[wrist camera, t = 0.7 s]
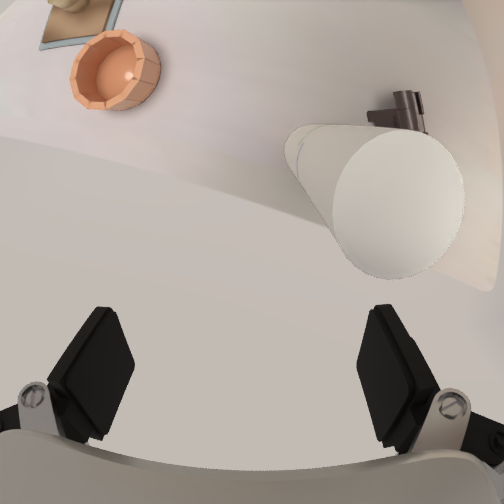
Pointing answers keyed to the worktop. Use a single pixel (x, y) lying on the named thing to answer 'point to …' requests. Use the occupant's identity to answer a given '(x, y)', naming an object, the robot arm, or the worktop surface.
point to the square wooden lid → (77, 19)
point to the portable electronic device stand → (401, 113)
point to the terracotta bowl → (114, 71)
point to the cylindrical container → (380, 193)
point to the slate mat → (83, 39)
